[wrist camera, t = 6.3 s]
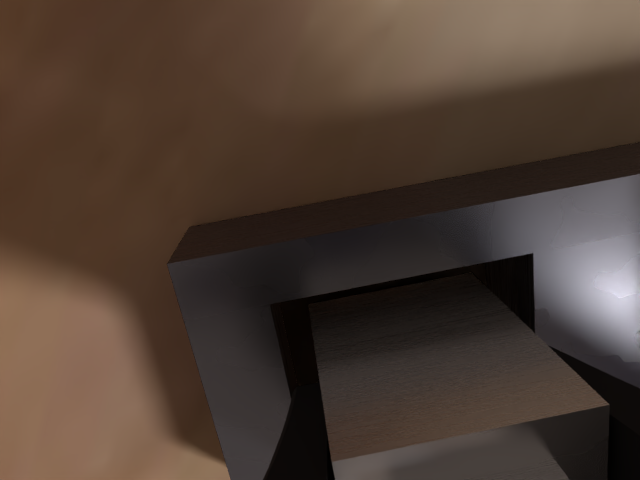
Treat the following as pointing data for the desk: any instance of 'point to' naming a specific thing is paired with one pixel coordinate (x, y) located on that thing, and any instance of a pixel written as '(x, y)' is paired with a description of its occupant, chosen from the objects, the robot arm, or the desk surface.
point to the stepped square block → (450, 390)
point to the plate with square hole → (414, 274)
